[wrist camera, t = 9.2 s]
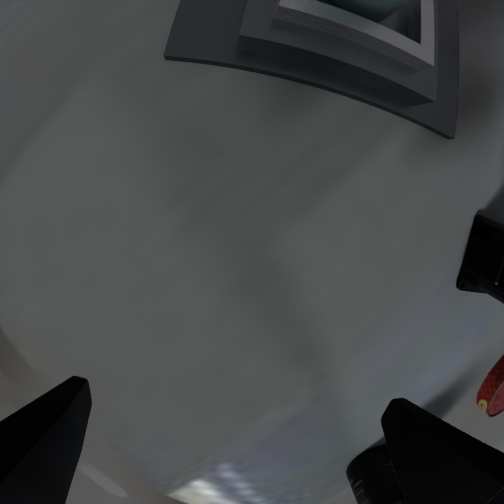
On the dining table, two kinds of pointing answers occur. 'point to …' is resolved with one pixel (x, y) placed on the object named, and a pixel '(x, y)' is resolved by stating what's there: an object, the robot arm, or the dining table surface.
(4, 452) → the robot arm
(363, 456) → the supplement bottle
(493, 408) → the canned food
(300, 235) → the dining table surface
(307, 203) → the dining table surface
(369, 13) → the cylinder
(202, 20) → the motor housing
